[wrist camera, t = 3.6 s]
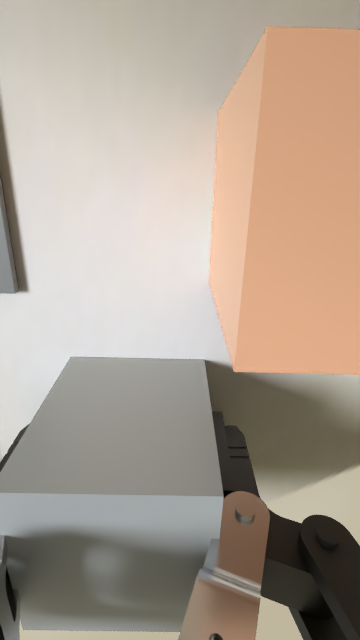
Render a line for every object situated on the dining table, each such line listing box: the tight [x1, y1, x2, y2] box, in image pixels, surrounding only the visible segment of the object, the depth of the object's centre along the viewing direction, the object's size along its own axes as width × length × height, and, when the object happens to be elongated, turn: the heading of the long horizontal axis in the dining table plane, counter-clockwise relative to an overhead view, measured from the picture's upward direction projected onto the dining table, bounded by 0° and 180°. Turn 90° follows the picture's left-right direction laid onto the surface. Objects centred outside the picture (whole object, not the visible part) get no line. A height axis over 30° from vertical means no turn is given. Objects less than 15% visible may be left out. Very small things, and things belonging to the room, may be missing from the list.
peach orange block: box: [209, 26, 360, 375], centre depth 8 cm, size 5×5×6 cm
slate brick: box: [0, 357, 224, 632], centre depth 11 cm, size 5×5×6 cm
